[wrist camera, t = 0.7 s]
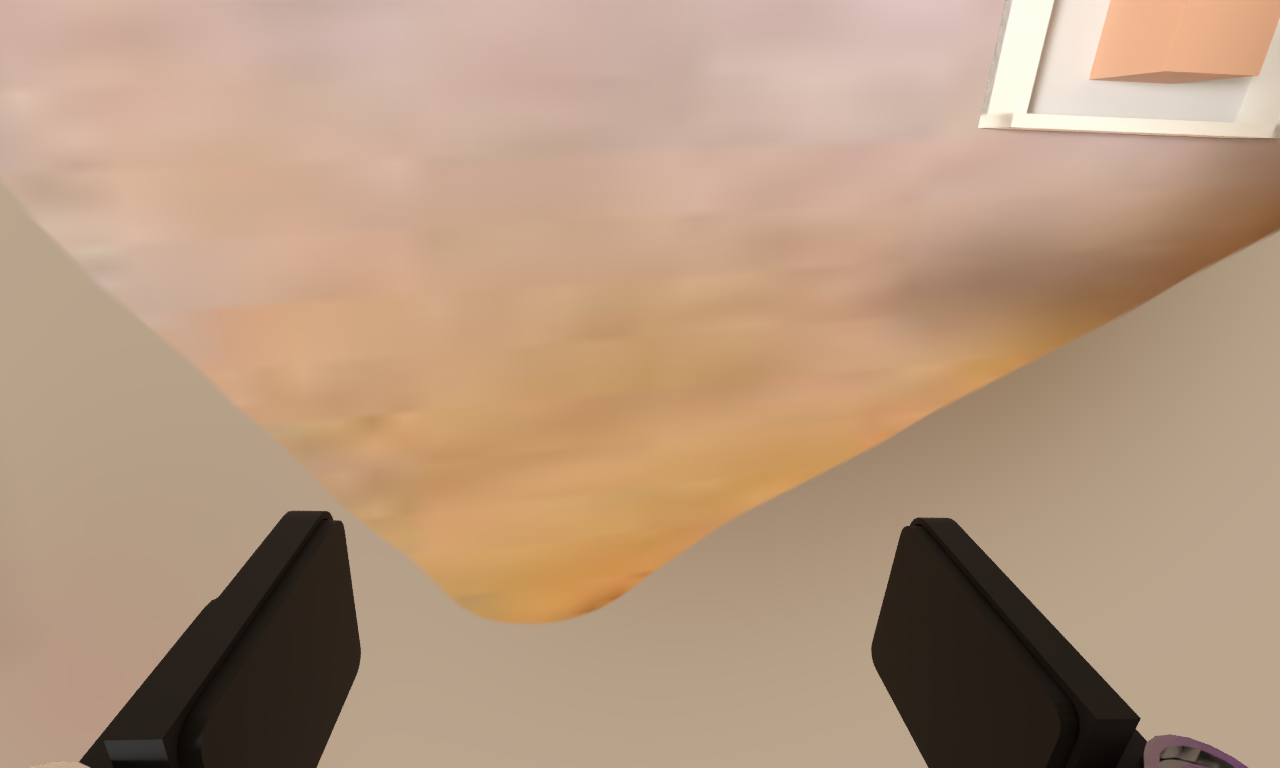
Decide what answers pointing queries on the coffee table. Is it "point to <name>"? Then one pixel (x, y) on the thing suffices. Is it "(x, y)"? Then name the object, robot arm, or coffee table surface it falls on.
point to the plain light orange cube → (1184, 40)
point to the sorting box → (1111, 83)
